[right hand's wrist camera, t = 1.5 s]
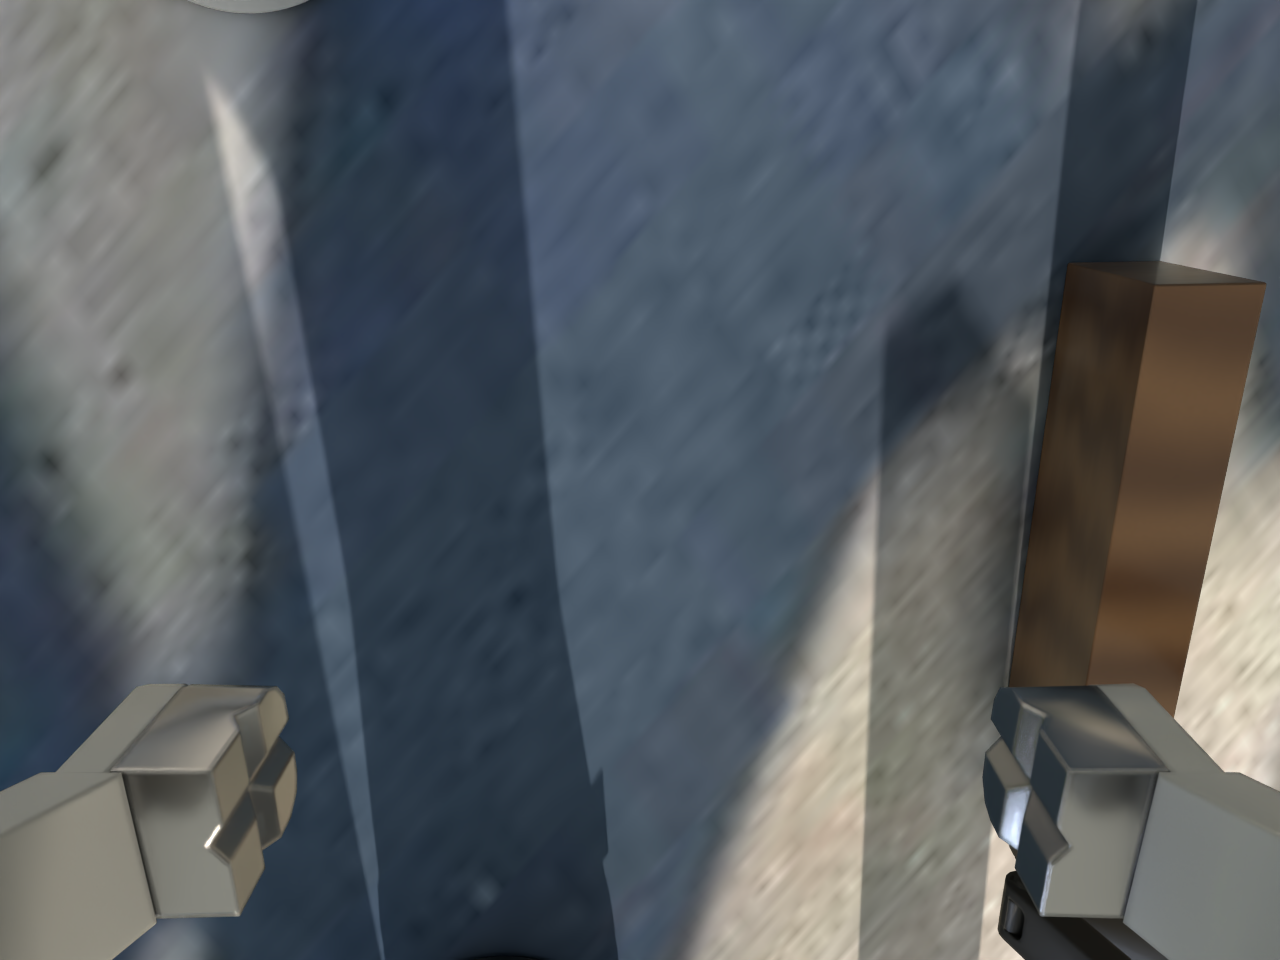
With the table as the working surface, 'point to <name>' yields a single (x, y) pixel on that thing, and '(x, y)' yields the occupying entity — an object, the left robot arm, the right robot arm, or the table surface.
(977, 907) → the table surface
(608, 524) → the table surface
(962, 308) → the table surface
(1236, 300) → the bar
